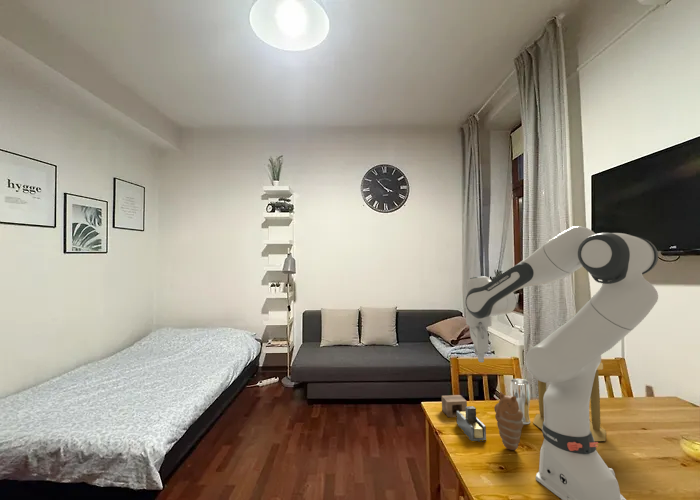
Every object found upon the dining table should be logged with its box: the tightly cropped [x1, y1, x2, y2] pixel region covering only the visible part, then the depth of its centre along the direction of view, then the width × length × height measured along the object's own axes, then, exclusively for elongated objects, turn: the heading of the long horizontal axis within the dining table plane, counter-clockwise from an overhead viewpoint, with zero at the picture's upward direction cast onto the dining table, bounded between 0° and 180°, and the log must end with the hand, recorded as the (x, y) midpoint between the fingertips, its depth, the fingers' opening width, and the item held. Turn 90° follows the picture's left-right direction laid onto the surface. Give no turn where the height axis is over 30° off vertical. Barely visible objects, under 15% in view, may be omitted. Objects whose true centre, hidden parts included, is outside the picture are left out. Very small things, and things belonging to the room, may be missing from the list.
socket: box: [441, 394, 468, 418], centre depth 140 cm, size 6×8×6 cm
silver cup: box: [509, 378, 531, 425], centre depth 133 cm, size 7×7×15 cm
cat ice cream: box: [493, 391, 524, 451], centre depth 113 cm, size 9×8×18 cm
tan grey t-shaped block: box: [460, 405, 483, 438], centre depth 125 cm, size 14×3×8 cm, turn 4°
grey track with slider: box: [456, 411, 487, 442], centre depth 124 cm, size 13×5×5 cm, turn 4°
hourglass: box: [532, 361, 607, 442], centre depth 127 cm, size 24×22×25 cm
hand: (479, 357), depth 126 cm, fingers open, 8 cm apart
